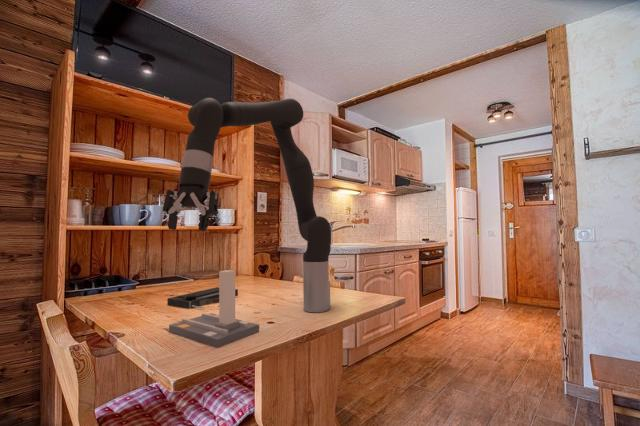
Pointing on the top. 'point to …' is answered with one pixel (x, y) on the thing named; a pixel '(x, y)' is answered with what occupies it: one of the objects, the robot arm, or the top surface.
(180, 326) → the switch panel
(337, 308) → the top surface
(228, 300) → the switch tab
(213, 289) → the black rectangular tray
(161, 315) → the top surface
